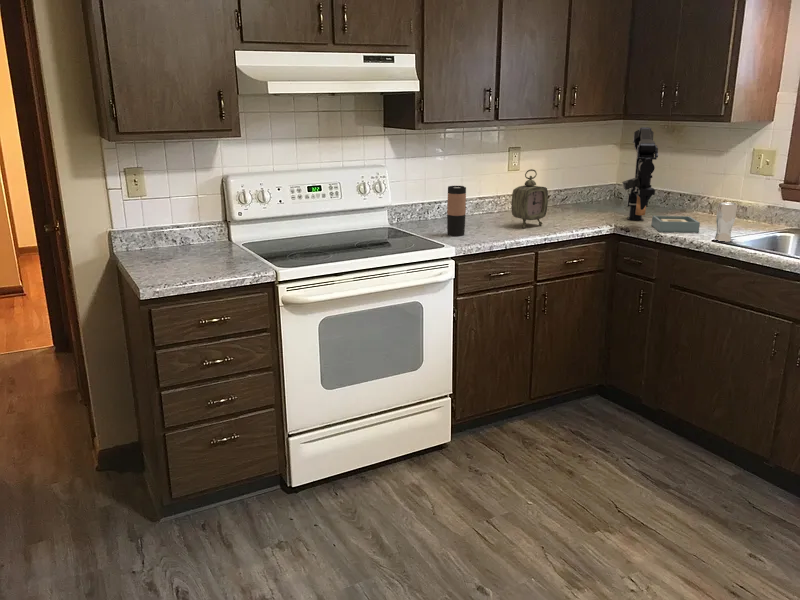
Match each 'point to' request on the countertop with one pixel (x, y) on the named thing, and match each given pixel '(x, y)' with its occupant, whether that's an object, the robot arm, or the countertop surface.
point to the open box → (675, 224)
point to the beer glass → (725, 220)
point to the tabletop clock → (529, 201)
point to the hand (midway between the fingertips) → (640, 208)
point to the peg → (638, 210)
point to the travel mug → (456, 210)
